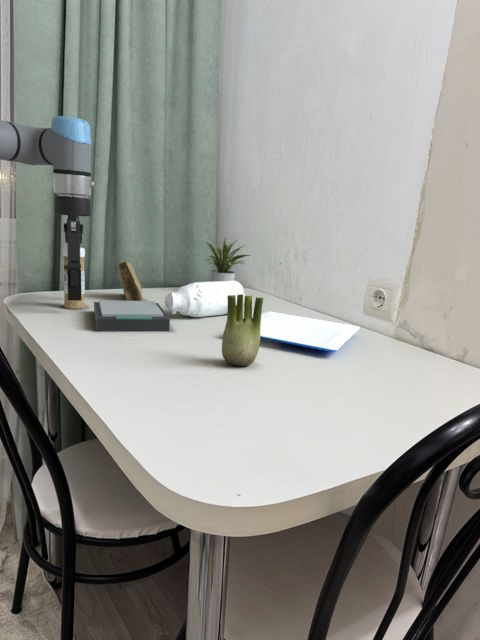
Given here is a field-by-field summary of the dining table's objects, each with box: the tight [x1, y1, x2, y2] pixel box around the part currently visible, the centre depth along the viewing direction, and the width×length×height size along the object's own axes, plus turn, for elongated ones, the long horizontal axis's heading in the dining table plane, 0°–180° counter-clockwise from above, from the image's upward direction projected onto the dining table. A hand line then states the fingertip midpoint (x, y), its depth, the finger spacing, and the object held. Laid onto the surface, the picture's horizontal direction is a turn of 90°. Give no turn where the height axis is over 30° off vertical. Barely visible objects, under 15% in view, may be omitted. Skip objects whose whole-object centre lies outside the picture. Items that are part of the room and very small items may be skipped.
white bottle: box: [164, 279, 246, 319], centre depth 117 cm, size 8×19×8 cm, turn 132°
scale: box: [93, 299, 171, 332], centre depth 107 cm, size 16×14×3 cm
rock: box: [118, 260, 144, 301], centre depth 129 cm, size 11×9×10 cm
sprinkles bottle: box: [62, 246, 86, 310], centre depth 113 cm, size 5×5×13 cm
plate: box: [252, 310, 361, 353], centre depth 106 cm, size 22×22×2 cm
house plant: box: [204, 236, 251, 282], centre depth 146 cm, size 14×14×16 cm
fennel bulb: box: [221, 294, 264, 367], centre depth 84 cm, size 6×5×12 cm
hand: (74, 294), depth 114 cm, fingers open, 13 cm apart
